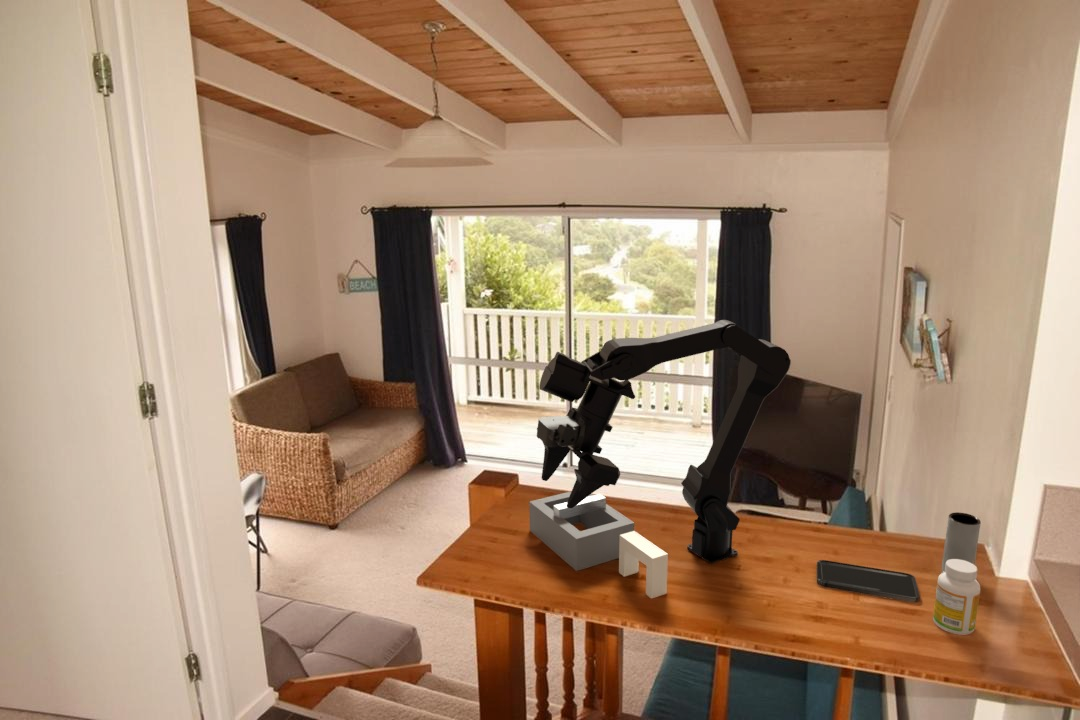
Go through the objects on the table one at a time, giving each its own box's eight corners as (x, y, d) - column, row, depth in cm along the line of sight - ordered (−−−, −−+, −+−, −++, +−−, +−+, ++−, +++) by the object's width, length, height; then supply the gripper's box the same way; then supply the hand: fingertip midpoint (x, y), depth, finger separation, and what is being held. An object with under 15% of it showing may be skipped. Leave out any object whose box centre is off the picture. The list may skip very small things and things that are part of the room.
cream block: (633, 568, 120) (634, 530, 119) (666, 593, 113) (667, 553, 111) (618, 572, 119) (619, 534, 117) (651, 598, 111) (652, 558, 110)
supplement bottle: (959, 613, 106) (968, 555, 104) (982, 635, 101) (992, 574, 99) (924, 614, 106) (932, 556, 104) (946, 636, 101) (954, 575, 99)
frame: (583, 516, 140) (583, 488, 138) (633, 553, 125) (634, 522, 124) (529, 530, 134) (529, 501, 133) (576, 571, 120) (576, 538, 118)
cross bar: (599, 503, 131) (600, 493, 131) (605, 507, 130) (606, 497, 129) (553, 515, 127) (553, 505, 126) (559, 520, 125) (559, 509, 125)
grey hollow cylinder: (976, 583, 114) (985, 525, 112) (946, 580, 115) (954, 523, 113) (966, 569, 119) (974, 513, 116) (937, 566, 120) (944, 511, 117)
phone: (817, 558, 121) (914, 574, 116) (816, 564, 122) (913, 580, 116) (817, 581, 114) (920, 599, 109) (816, 588, 114) (919, 605, 109)
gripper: (531, 378, 120) (495, 458, 122) (585, 424, 104) (542, 515, 107) (581, 394, 126) (545, 470, 128) (639, 440, 110) (598, 525, 113)
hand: (556, 493), depth 119 cm, fingers open, 9 cm apart
